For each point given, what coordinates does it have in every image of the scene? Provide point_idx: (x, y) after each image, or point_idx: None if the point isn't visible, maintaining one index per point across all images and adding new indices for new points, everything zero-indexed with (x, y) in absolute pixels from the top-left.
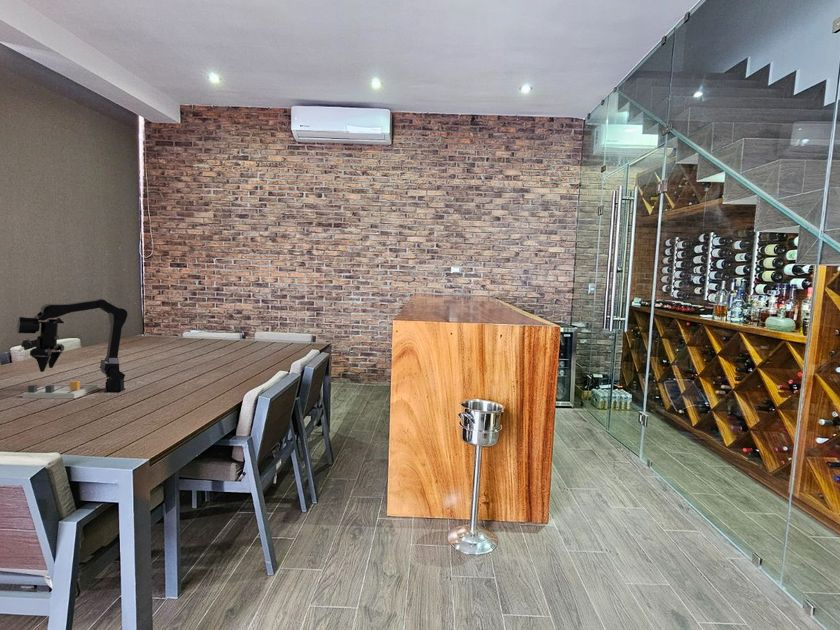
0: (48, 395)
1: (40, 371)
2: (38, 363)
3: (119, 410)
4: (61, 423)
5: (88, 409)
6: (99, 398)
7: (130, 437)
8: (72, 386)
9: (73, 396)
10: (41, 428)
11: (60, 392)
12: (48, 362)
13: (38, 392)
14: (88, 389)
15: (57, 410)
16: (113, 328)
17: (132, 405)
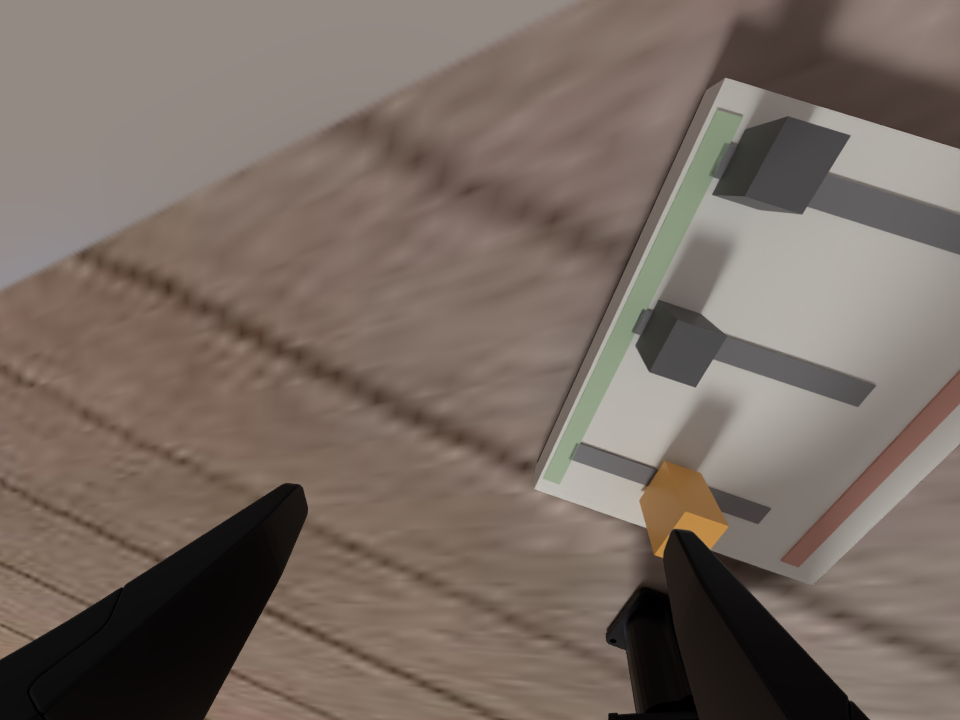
0: (604, 326)
1: (284, 484)
2: (95, 612)
3: (279, 619)
4: (106, 470)
5: (300, 535)
6: (506, 565)
7: (30, 624)
8: (662, 494)
9: (535, 472)
10: (39, 418)
11: (619, 406)
12: (731, 627)
13: (700, 235)
14: None
15: (291, 425)
16: None
17: (347, 653)
